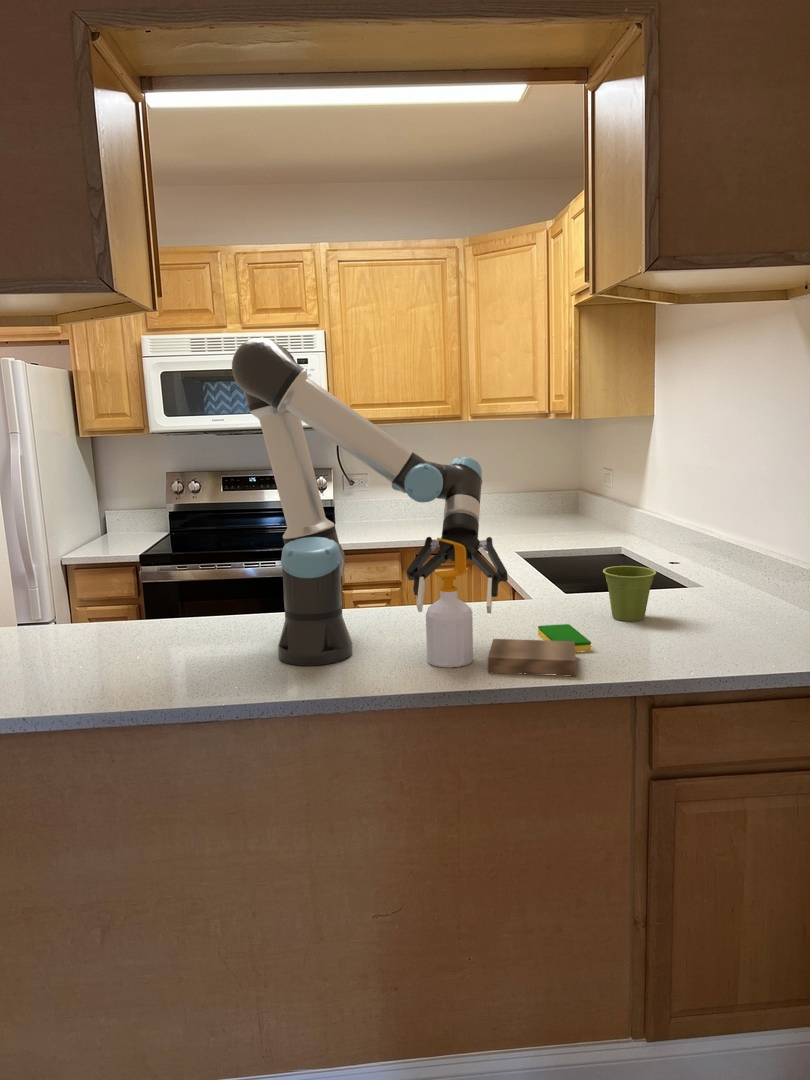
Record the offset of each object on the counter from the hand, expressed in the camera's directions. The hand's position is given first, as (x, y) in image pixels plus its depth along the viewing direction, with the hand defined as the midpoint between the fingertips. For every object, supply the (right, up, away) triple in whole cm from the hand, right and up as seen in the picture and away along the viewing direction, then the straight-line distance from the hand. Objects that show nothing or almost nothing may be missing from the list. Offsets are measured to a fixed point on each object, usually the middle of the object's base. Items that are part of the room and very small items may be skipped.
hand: (453, 609), depth 145 cm
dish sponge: (+24, -9, +12) cm, 28 cm away
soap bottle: (-1, -11, +2) cm, 11 cm away
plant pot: (+43, -5, +29) cm, 52 cm away
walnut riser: (+15, -10, -1) cm, 18 cm away
